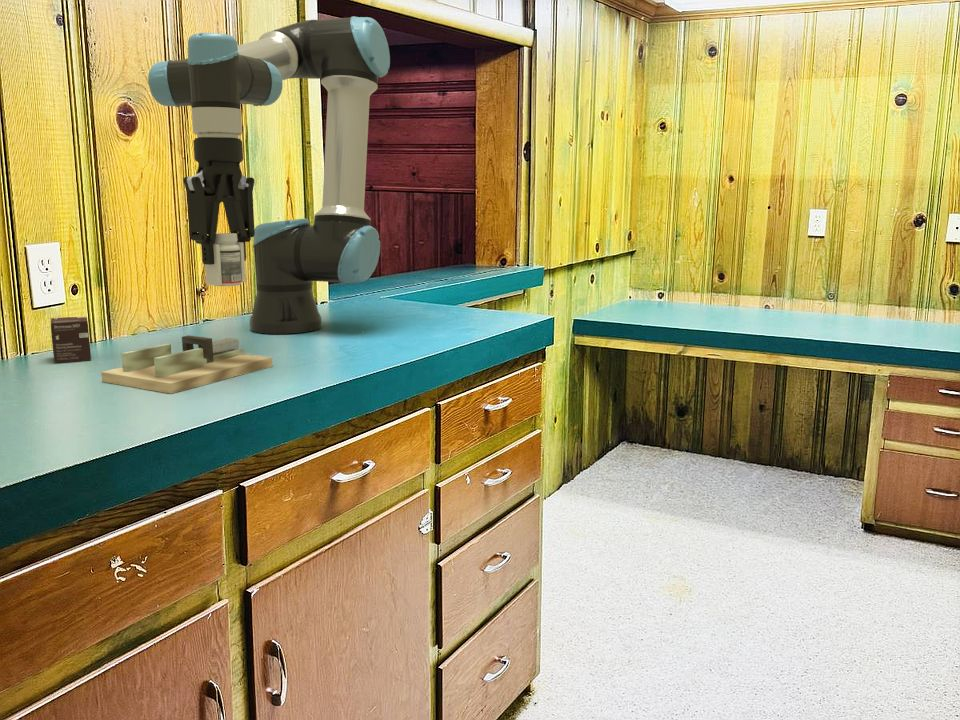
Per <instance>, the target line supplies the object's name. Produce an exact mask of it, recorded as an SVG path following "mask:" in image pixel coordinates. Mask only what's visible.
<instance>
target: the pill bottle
mask: <svg viewBox="0 0 960 720" xmlns="http://www.w3.org/2000/svg"><path fill="white" fill-rule="evenodd" d="M236 242H237V234H236V233H230V232H229V233H227V232H226V233H225V232H224V233H222V232H219V233H218V232H217V233H216V241H215V243H214V244H220V260H221V277H222V285H213V286H214V287H236V286H240V285H241V284H242V283H243V282H242V281H241V263H240V247H239V246H238V245H237V244H236Z"/></svg>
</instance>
